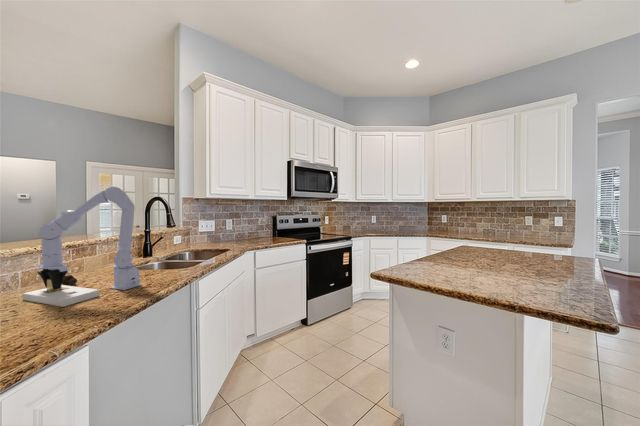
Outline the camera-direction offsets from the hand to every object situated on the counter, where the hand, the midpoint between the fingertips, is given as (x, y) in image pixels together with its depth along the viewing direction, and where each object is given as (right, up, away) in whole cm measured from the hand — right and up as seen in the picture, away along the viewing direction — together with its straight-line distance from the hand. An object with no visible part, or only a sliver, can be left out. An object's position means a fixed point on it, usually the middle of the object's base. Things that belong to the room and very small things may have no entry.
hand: (53, 288), depth 107 cm
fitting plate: (+5, -3, -2) cm, 6 cm away
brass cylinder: (0, -2, 0) cm, 2 cm away
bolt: (-13, -4, +18) cm, 23 cm away
